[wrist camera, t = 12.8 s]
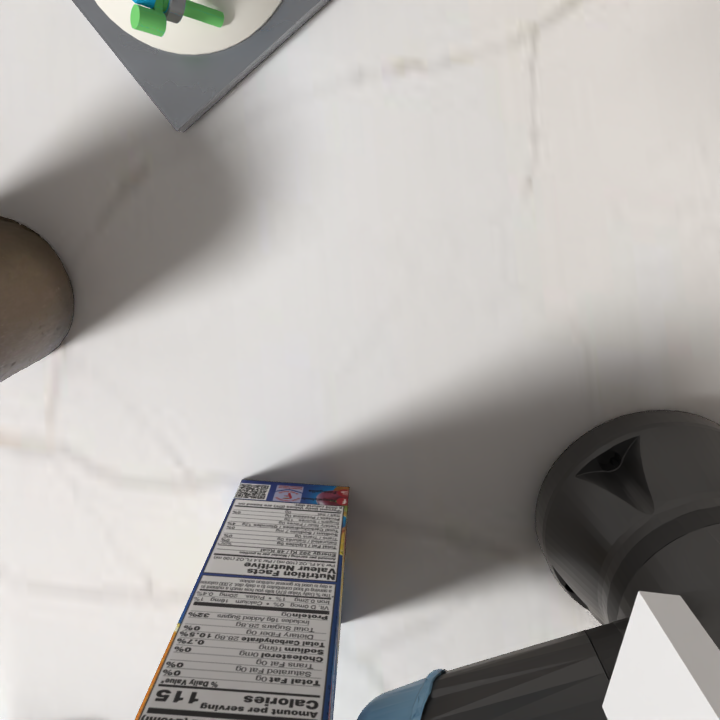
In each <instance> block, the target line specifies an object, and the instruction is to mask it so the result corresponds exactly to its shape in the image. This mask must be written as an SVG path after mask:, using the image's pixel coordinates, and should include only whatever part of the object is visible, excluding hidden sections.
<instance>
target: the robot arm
mask: <svg viewBox="0 0 720 720" xmlns="http://www.w3.org/2000/svg"><path fill="white" fill-rule="evenodd" d="M535 523H536V532H537V537H538V541H539V544H540V547H541V549H542V551H543V554H544V556H545V558H546V560H547V563H548V565H549V567H550V569H551V571H552V573H553V575H554V576H555V578H556V579H557V581H558V582H559V584H560V585H561V586H562V587H563V589H564V590H565V591H566V592H567V593H568V594H569V595H570V596H571V597H572V598H573V599H574V600H575V601H577V602H578V603H579V604H580V605H582V606H583V607H584V608H586V609H588V610H589V611H590V612H591V614H592V615H593V616H594V617H595V618H596V619H597V620H598V621H599V622H600V623H601V624H602V626H598V627H595V628H592V629H588V630H584V631H581V632H577V633H574V634H571V635H567V636H564V637H561V638H557V639H554V640H550V641H547V642H544V643H540V644H537V645H534V646H530V647H527V648H523V649H520V650H517V651H513V652H510V653H507V654H503V655H500V656H497V657H493V658H490V659H486V660H483V661H480V662H476V663H473V664H470V665H466V666H463V667H460V668H456V669H453V670H449V671H447V670H445V669H444V670H442V669H438V670H434V671H432V672H431V673H430V674H429V675H428V676H427V678H424V679H421V680H419V681H416V682H413V683H410V684H408V685H405V686H402V687H399V688H397V689H394V690H391V691H388V692H386V693H383V694H381V695H380V696H378V697H376V698H375V699H373V700H372V701H371V702H370V703H369V704H368V705H367V706H366V707H365V708H364V709H363V710H362V712H361V713H360V715H359V717H358V719H357V720H720V425H718V424H717V423H715V422H713V421H711V420H708V419H706V418H703V417H701V416H697V415H694V414H690V413H686V412H679V411H668V410H657V411H646V412H639V413H634V414H630V415H626V416H622V417H619V418H616V419H614V420H611V421H609V422H606V423H604V424H602V425H600V426H598V427H596V428H594V429H593V430H591V431H589V432H588V433H586V434H585V435H583V436H582V437H581V438H579V439H578V440H577V441H575V442H574V443H573V444H572V445H571V446H570V447H569V448H568V449H567V450H566V451H565V452H564V453H563V454H562V455H561V456H560V457H559V458H558V460H557V461H556V462H555V464H554V465H553V466H552V468H551V469H550V471H549V473H548V474H547V476H546V478H545V480H544V482H543V484H542V487H541V490H540V493H539V496H538V500H537V505H536V513H535Z"/></svg>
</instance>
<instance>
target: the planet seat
mask: <svg viewBox="0 0 720 720" xmlns="http://www.w3.org/2000/svg"><path fill="white" fill-rule="evenodd" d="M190 1H193V2H195V3H198V4H201V5H204V6H207V7H209V8H212V9H215V10H218V11H221V12H223V14H224V22H223V25H222V27H220V28H219V27H216V26H213V25H210V24H207V23H204V22H201V21H198V20H195V19H192V18H189V17H186V16H183V17H182V19H181V21H180V22H179V23H172V22H169V21H166V22H167V24H166V31H165V33H164V35H163V36H162V37H159V36H156V35H153V34H149V33H146V32H143V31H139V30H136V29H133V28H132V26H131V22H130V15H131V10H132V7H133V5H134V4H136V3H134V2H133V1H132V0H95V2H96V3H97V4H98V6H99V7H100V8H101V9H102V10H103V11H104V12H105V14H106V15H107V16H108V17H109V18H110V19H111V20H112V21H113V22H115V23H116V24H117V25H118V26H119V27H120V28H122V29H123V30H124V31H126V32H127V33H129V34H130V35H132V36H133V37H135V38H136V39H138V40H140V41H142V42H144V43H146V44H148V45H150V46H152V47H154V48H157V49H160V50H163V51H166V52H171V53H176V54H181V55H202V54H211V53H215V52H219V51H223V50H225V49H228V48H230V47H233V46H235V45H237V44H239V43H241V42H242V41H244V40H246V39H247V38H249V37H250V36H251V35H253V34H254V33H255V32H256V31H258V30H259V29H260V28H261V27H262V26H263V25H264V24H265V23H266V22H267V21H268V20H269V19H270V17H271V16H272V15H273V14H274V12H275V11H276V9H277V8H278V6H279V5H280V4H281V2H282V0H190ZM137 5H139V4H137ZM140 6H142V5H140ZM143 7H145V6H143ZM146 8H148V7H146ZM149 9H150V8H149Z"/></svg>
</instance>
